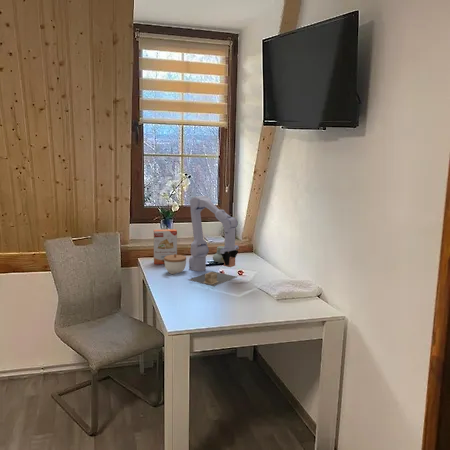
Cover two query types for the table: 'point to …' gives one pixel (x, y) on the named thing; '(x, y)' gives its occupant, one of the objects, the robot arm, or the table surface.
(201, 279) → the plate
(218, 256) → the air freshener
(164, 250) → the cracker box
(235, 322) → the table surface
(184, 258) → the lidded bowl
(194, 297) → the table surface
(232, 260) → the terracotta block
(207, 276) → the maple block
